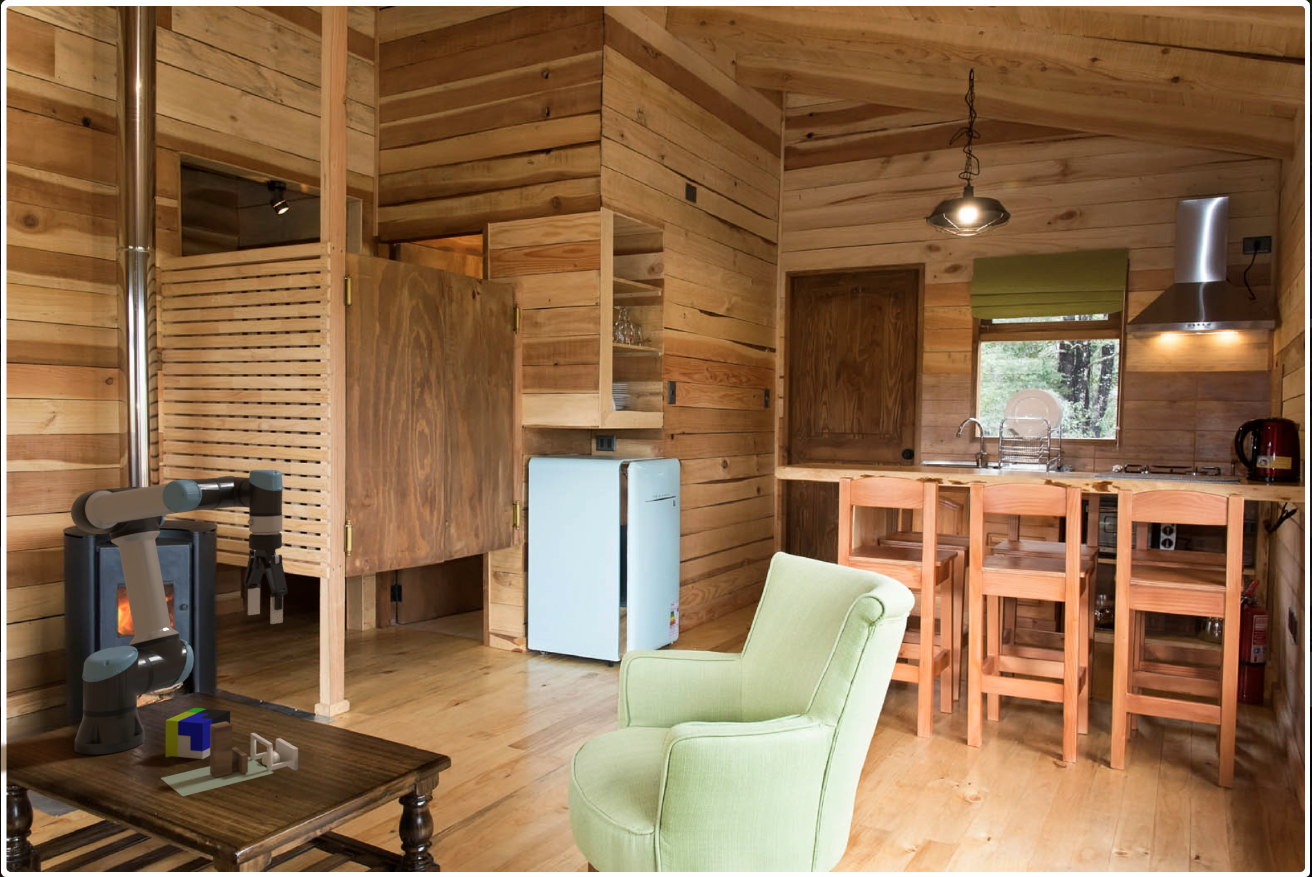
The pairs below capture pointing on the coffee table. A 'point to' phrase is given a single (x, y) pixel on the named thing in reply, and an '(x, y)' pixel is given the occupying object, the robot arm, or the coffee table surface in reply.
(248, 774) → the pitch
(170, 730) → the puzzle toy
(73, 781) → the coffee table surface
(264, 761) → the ball
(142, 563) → the robot arm
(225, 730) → the kicker
